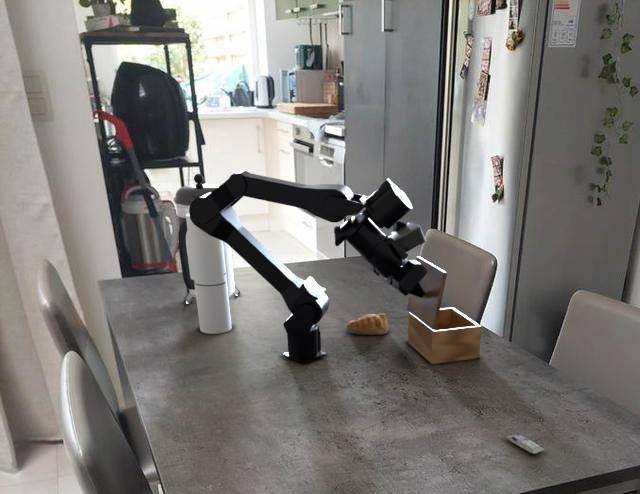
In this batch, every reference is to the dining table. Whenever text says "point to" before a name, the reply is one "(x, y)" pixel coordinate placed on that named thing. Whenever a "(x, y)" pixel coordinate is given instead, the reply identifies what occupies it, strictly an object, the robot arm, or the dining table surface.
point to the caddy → (445, 337)
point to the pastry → (368, 324)
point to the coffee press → (183, 204)
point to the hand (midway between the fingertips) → (422, 295)
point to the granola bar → (525, 443)
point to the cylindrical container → (209, 280)
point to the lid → (428, 295)
